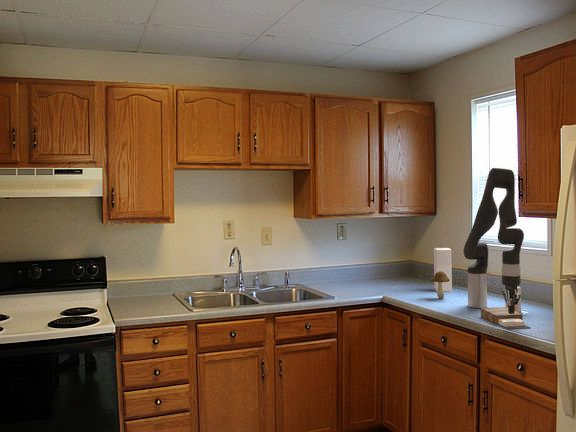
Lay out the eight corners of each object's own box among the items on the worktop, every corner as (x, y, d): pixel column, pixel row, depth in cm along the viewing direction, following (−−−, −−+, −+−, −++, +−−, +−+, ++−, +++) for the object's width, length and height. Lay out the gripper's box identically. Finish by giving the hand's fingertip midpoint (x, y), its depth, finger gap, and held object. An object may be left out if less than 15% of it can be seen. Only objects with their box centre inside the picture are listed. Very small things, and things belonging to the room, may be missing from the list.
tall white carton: (436, 291, 324) (436, 249, 323) (434, 289, 333) (433, 248, 332) (452, 291, 323) (451, 249, 322) (449, 289, 332) (448, 247, 331)
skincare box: (505, 311, 268) (504, 286, 268) (510, 309, 271) (510, 285, 270) (516, 313, 263) (516, 288, 263) (521, 311, 266) (521, 287, 265)
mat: (498, 324, 242) (498, 323, 241) (520, 323, 242) (520, 322, 242) (507, 329, 233) (507, 328, 233) (530, 328, 234) (530, 327, 234)
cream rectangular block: (498, 323, 242) (498, 318, 242) (518, 322, 242) (518, 318, 242) (503, 326, 236) (503, 322, 236) (524, 326, 236) (524, 321, 236)
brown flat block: (481, 316, 258) (480, 307, 258) (505, 315, 259) (505, 307, 259) (496, 324, 242) (496, 315, 242) (522, 323, 243) (522, 314, 243)
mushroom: (437, 296, 311) (437, 269, 310) (454, 299, 301) (453, 271, 301) (426, 298, 306) (426, 271, 305) (442, 301, 296) (442, 273, 296)
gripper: (495, 272, 246) (496, 310, 247) (509, 276, 233) (510, 317, 233) (512, 271, 246) (512, 310, 247) (526, 275, 233) (527, 316, 234)
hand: (511, 313), depth 240 cm, fingers closed
